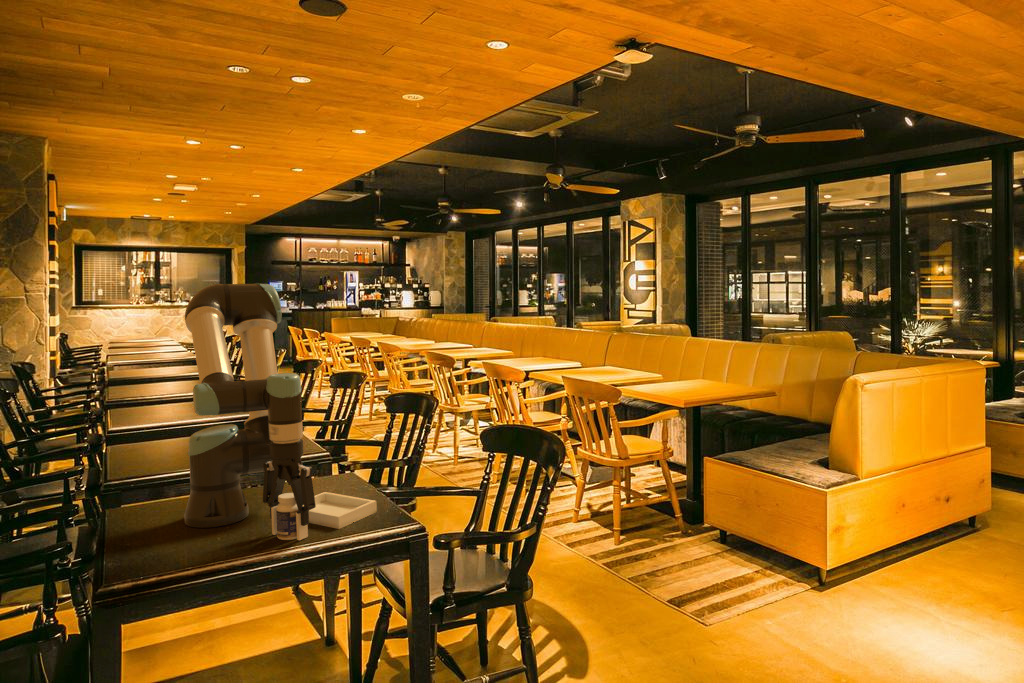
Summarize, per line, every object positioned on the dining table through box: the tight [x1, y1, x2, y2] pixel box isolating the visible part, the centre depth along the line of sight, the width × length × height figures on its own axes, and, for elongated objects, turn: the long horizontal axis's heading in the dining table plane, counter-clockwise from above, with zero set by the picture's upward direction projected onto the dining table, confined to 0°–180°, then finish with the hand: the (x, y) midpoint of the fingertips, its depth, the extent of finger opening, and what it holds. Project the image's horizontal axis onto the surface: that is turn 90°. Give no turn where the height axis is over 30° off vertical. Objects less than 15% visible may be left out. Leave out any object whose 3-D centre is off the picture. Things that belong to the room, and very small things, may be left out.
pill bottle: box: [276, 492, 299, 541], centre depth 160 cm, size 6×6×10 cm
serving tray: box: [303, 491, 378, 530], centre depth 175 cm, size 18×14×3 cm
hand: (290, 535), depth 161 cm, fingers open, 7 cm apart
